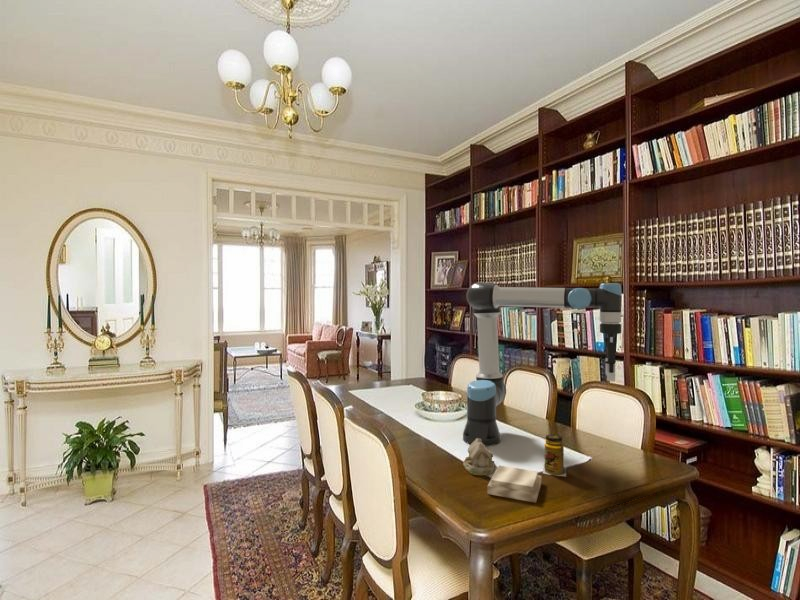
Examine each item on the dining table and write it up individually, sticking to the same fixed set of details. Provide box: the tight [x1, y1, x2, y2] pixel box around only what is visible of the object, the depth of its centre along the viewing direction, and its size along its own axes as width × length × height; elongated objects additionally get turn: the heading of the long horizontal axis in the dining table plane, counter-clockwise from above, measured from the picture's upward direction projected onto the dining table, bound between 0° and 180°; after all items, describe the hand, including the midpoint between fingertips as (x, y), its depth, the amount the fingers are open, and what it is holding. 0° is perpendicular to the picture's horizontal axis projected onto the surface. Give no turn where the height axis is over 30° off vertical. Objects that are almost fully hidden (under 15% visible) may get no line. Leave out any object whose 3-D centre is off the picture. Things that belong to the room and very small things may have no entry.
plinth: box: [486, 465, 542, 503], centre depth 134 cm, size 14×14×4 cm
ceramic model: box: [462, 438, 496, 476], centre depth 151 cm, size 14×11×10 cm
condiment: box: [542, 433, 567, 478], centre depth 147 cm, size 7×8×12 cm
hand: (610, 377), depth 169 cm, fingers open, 13 cm apart
